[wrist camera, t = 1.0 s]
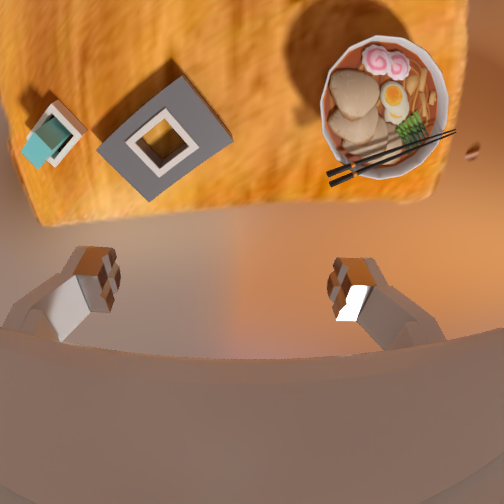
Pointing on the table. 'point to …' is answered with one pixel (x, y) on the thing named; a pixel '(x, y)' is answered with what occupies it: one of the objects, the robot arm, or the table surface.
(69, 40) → the table surface
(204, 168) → the table surface
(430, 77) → the ramen bowl
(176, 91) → the socket block
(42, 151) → the plug
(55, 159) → the white square frame
